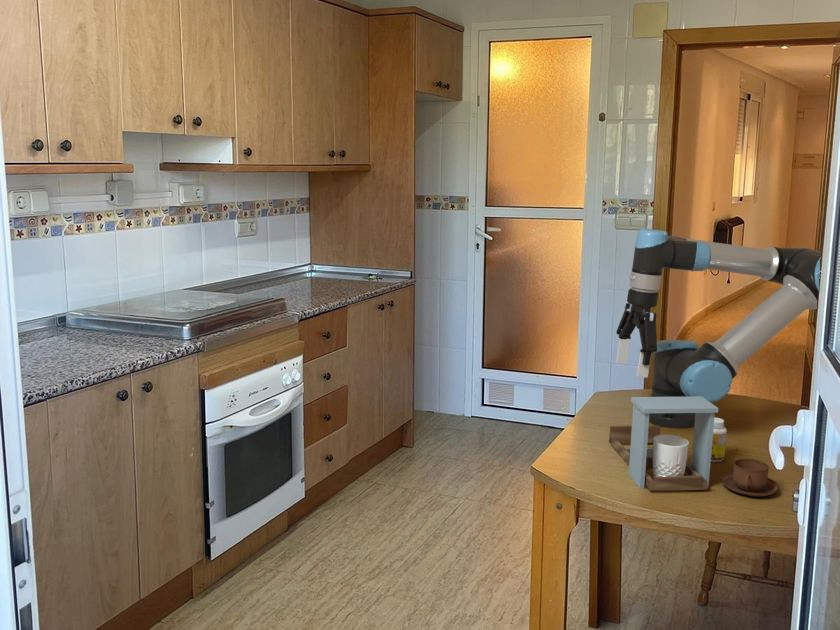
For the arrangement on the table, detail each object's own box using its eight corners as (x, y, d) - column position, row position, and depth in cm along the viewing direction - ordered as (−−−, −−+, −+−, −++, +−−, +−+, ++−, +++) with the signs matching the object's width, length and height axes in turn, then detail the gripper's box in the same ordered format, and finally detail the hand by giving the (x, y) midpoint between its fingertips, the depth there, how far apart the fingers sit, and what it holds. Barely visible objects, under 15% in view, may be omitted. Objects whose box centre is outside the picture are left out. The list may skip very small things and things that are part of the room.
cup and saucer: (783, 503, 183) (786, 476, 182) (726, 498, 185) (728, 472, 184) (770, 482, 195) (772, 457, 194) (716, 478, 197) (718, 453, 196)
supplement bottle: (695, 456, 210) (698, 417, 208) (712, 453, 212) (716, 415, 210) (711, 464, 205) (714, 424, 203) (728, 461, 207) (732, 421, 205)
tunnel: (625, 474, 198) (631, 397, 194) (695, 473, 199) (702, 396, 195) (638, 489, 189) (644, 409, 185) (711, 488, 190) (718, 408, 187)
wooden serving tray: (609, 441, 218) (610, 425, 217) (657, 440, 219) (659, 425, 218) (650, 490, 187) (651, 472, 186) (707, 489, 188) (708, 471, 187)
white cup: (684, 476, 197) (687, 436, 195) (686, 489, 190) (690, 447, 188) (649, 473, 199) (652, 433, 197) (650, 486, 191) (653, 444, 189)
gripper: (611, 280, 226) (600, 356, 230) (650, 297, 202) (637, 382, 205) (637, 283, 227) (625, 358, 231) (679, 299, 203) (665, 383, 207)
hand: (631, 369), depth 218 cm, fingers open, 13 cm apart
